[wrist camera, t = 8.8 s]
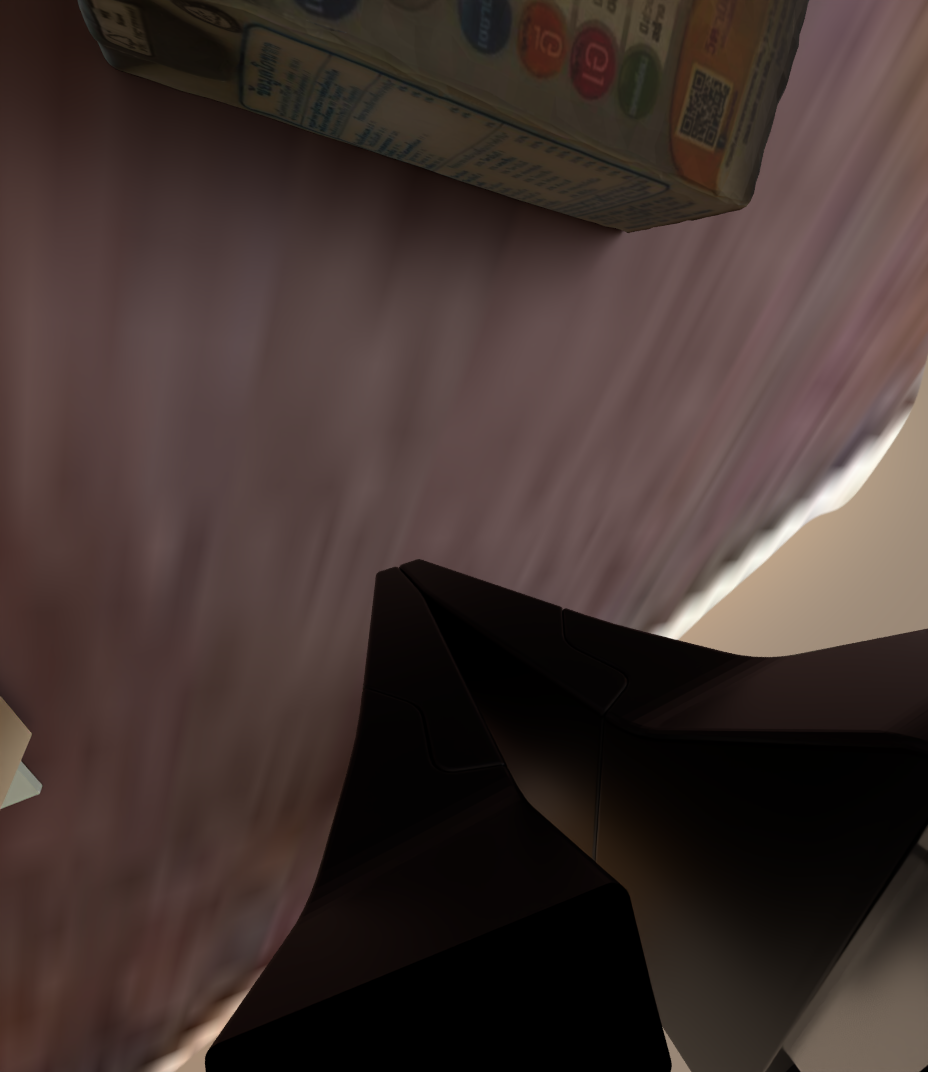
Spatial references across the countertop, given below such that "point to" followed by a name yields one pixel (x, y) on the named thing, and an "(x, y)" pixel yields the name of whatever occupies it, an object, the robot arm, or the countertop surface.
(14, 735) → the beige bevelled block
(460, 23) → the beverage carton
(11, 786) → the mat
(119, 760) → the countertop surface
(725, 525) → the countertop surface
